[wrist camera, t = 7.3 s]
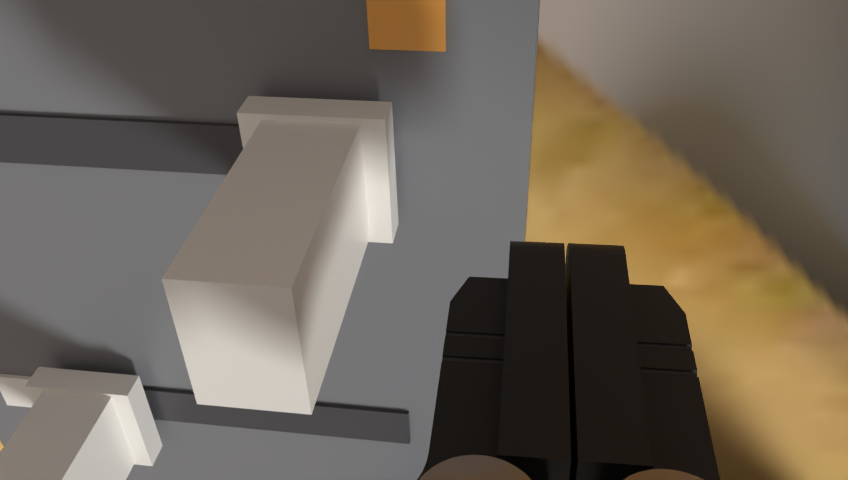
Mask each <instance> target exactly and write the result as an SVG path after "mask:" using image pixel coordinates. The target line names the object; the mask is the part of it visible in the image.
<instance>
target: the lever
mask: <svg viewBox="0 0 848 480" xmlns="http://www.w3.org/2000/svg"><path fill="white" fill-rule="evenodd" d="M25 388H26V391H27V393H28V395H29V397H30V399H31V401H32V404H33V406H32V407H31V409H30V410H29V412H28V413H27V414H26V416H25V417H24V419H23V420H22V422H21V423H20V425H19V426H18V427H17V429H16V430H15V432H14V433H13V435H12V436H11V438H10V439H9V440H8V442H7V443H6V445H5V446H4V448H3V449H2V450H1V452H0V480H126V479H127V477H128V475H129V473H130V471H131V469H132V467H133V465H134V464H135V465H145V466H153V464H154V462H155V460H156V458H157V456H158V454H159V452H160V450H161V448H162V446H163V445H162V442H161V440H160V437H159V434H158V431H157V428H156V425H155V422H154V419H153V416H152V413H151V410H150V407H149V404H148V401H147V398H146V395H145V392H144V389H143V386H142V383H141V380H140V377H139V376H137V375H126V374H115V373H104V372H93V371H81V370H70V369H59V368H48V367H38V368H37V370H36V371H35V372H34V374H33V375H32V377H31V378H30V379H29V381H28V382H27V383H26V385H25Z"/></svg>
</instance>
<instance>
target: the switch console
mask: <svg viewBox="0 0 848 480" xmlns="http://www.w3.org/2000/svg"><path fill="white" fill-rule="evenodd" d="M539 8H540V0H0V440H1V442H2V444H3V446H5V445H6V443H7V442H8V440H9V439H10V438H11V436H12V435H13V433H14V432H15V430H16V429H17V427H18V426H19V425H20V423H21V422H22V420H23V419H24V417H25V416H26V414H27V413H28V412H29V410H30V409H31V407H32V406H33V404H32V401H31V399H30V397H29V395H28V393H27V391H26V388H25V385H26V383H27V382H28V381H29V379H30V378H31V377H32V375H33V374H34V372H35V371H36V370H37V368H38V367H48V368H59V369H70V370H81V371H93V372H104V373H115V374H126V375H137V376H139V377H140V380H141V383H142V386H143V389H144V392H145V395H146V398H147V401H148V404H149V407H150V410H151V413H152V416H153V419H154V422H155V425H156V428H157V431H158V434H159V437H160V440H161V442H162V445H163V446H162V448H161V450H160V452H159V454H158V456H157V458H156V460H155V462H154V464H153V466H145V465H135V464H134V465H133V467H132V469H131V471H130V473H129V475H128V477H127V479H126V480H417V479H418V478H419V476H420V474H421V473H422V471H423V469H424V467H425V464H426V462H427V457H428V453H429V446H430V439H431V432H432V425H433V418H434V411H435V404H436V397H437V390H438V383H439V376H440V369H441V362H442V355H443V348H444V341H445V337H446V327H447V320H448V313H449V306H450V301H451V300H452V298H453V297H454V296H455V294H456V293H457V292H458V290H459V289H460V288H461V287H462V285H463V284H464V283H465V281H466V280H467V279H468V278H469V277H489V278H508V270H509V252H510V241H522V242H525V235H526V219H527V203H528V186H529V170H530V154H531V138H532V122H533V106H534V90H535V73H536V57H537V41H538V24H539ZM248 96H265V97H288V98H312V99H336V100H360V101H383V102H392V112H393V131H394V149H395V168H396V186H397V205H398V223H399V224H398V227H397V231H396V234H395V238H394V241H393V244H392V243H377V242H368V244H367V247H366V250H365V253H364V256H363V259H362V262H361V266H360V269H359V272H358V275H357V278H356V281H355V284H354V287H353V290H352V293H351V296H350V299H349V302H348V305H347V308H346V311H345V314H344V318H343V321H342V324H341V327H340V330H339V333H338V336H337V339H336V342H335V345H334V348H333V351H332V354H331V357H330V360H329V363H328V366H327V370H326V373H325V376H324V379H323V382H322V385H321V388H320V391H319V394H318V397H317V400H316V403H315V406H314V409H313V412H312V415H308V414H297V413H287V412H276V411H265V410H254V409H244V408H233V407H222V406H212V405H201V404H197V402H196V399H195V395H194V392H193V388H192V385H191V381H190V378H189V374H188V371H187V367H186V363H185V360H184V356H183V353H182V349H181V346H180V342H179V339H178V335H177V332H176V328H175V325H174V321H173V318H172V314H171V311H170V307H169V304H168V300H167V296H166V293H165V289H164V286H163V282H162V277H163V275H164V274H165V272H166V271H167V269H168V267H169V266H170V264H171V263H172V261H173V260H174V258H175V256H176V255H177V253H178V252H179V250H180V248H181V247H182V245H183V244H184V242H185V240H186V239H187V237H188V236H189V234H190V233H191V231H192V229H193V228H194V226H195V225H196V223H197V221H198V220H199V218H200V217H201V215H202V214H203V212H204V210H205V209H206V207H207V206H208V204H209V202H210V201H211V199H212V198H213V196H214V195H215V193H216V191H217V190H218V188H219V187H220V185H221V183H222V182H223V180H224V179H225V177H226V175H227V174H228V172H229V171H230V169H231V168H232V166H233V164H234V163H235V161H236V160H237V158H238V156H239V155H240V153H241V152H242V150H243V146H242V140H241V135H240V129H239V124H238V118H237V111H238V110H239V109H240V107H241V106H242V104H243V103H244V101H245V100H246V98H247V97H248Z"/></svg>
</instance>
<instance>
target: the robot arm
mask: <svg viewBox="0 0 848 480" xmlns="http://www.w3.org/2000/svg"><path fill="white" fill-rule="evenodd" d="M691 347H692V344H691V339H690V334H689V329H688V324H687V319H686V315H685V313H684V311H683V310H682V309H681V308H680V306H679V305H678V304H677V303H676V301H675V300H674V299H673V298H672V296H671V295H670V294H669V293H668V291H667V290H666V289H665V288H664V286H654V285H634V284H629V277H628V270H627V262H626V254H625V249H624V246H617V245H594V244H572V243H568V246H567V253H566V263H565V251H564V243H545V242H522V241H510V252H509V270H508V278H489V277H469V278H468V279H467V280H466V281H465V283H464V284H463V285H462V287H461V288H460V289H459V290H458V292H457V293H456V294H455V296H454V297H453V298H452V300H451V301H450V306H449V313H448V320H447V327H446V337H445V341H444V348H443V355H442V362H441V369H440V376H439V383H438V390H437V397H436V404H435V411H434V418H433V425H432V432H431V439H430V446H429V453H428V457H427V462H426V464H425V467H424V469H423V471H422V473H421V474H420V476H419V478H418V479H417V480H720V477H719V474H718V469H717V464H716V459H715V455H714V450H713V445H712V440H711V435H710V430H709V426H708V421H707V416H706V411H705V406H704V401H703V397H702V392H701V387H700V382H699V377H697V368H696V363H695V358H694V353H693V351H692V350H691Z"/></svg>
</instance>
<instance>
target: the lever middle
mask: <svg viewBox="0 0 848 480" xmlns="http://www.w3.org/2000/svg"><path fill="white" fill-rule="evenodd" d="M237 118H238V124H239V129H240V135H241V140H242V146H243V150H242V152H241V153H240V155H239V156H238V158H237V160H236V161H235V163H234V164H233V166H232V168H231V169H230V171H229V172H228V174H227V175H226V177H225V179H224V180H223V182H222V183H221V185H220V187H219V188H218V190H217V191H216V193H215V195H214V196H213V198H212V199H211V201H210V202H209V204H208V206H207V207H206V209H205V210H204V212H203V214H202V215H201V217H200V218H199V220H198V221H197V223H196V225H195V226H194V228H193V229H192V231H191V233H190V234H189V236H188V237H187V239H186V240H185V242H184V244H183V245H182V247H181V248H180V250H179V252H178V253H177V255H176V256H175V258H174V260H173V261H172V263H171V264H170V266H169V267H168V269H167V271H166V272H165V274H164V275H163V277H162V282H163V286H164V289H165V293H166V296H167V300H168V304H169V307H170V311H171V314H172V318H173V321H174V325H175V328H176V332H177V335H178V339H179V342H180V346H181V349H182V353H183V356H184V360H185V363H186V367H187V371H188V374H189V378H190V381H191V385H192V388H193V392H194V395H195V399H196V402H197V404H201V405H212V406H222V407H233V408H244V409H254V410H265V411H276V412H287V413H297V414H308V415H312V412H313V409H314V406H315V403H316V400H317V397H318V394H319V391H320V388H321V385H322V382H323V379H324V376H325V373H326V370H327V366H328V363H329V360H330V357H331V354H332V351H333V348H334V345H335V342H336V339H337V336H338V333H339V330H340V327H341V324H342V321H343V318H344V314H345V311H346V308H347V305H348V302H349V299H350V296H351V293H352V290H353V287H354V284H355V281H356V278H357V275H358V272H359V269H360V266H361V262H362V259H363V256H364V253H365V250H366V247H367V244H368V242H377V243H392V244H393V241H394V238H395V234H396V231H397V227H398V224H399V223H398V205H397V186H396V168H395V149H394V131H393V112H392V102H383V101H360V100H336V99H312V98H288V97H265V96H248V97H247V98H246V100H245V101H244V103H243V104H242V106H241V107H240V109H239V110H238V111H237Z"/></svg>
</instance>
